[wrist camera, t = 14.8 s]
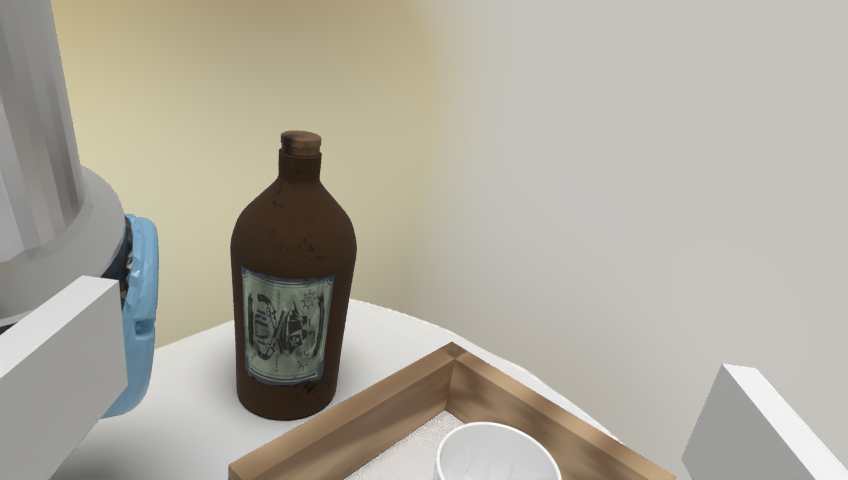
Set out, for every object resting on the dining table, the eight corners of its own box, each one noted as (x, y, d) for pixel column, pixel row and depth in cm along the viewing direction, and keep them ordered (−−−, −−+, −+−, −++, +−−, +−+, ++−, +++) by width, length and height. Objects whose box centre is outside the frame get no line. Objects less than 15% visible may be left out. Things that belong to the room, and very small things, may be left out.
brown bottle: (243, 351, 57) (247, 114, 47) (344, 358, 58) (368, 129, 49) (216, 423, 47) (214, 142, 37) (338, 429, 49) (367, 160, 39)
